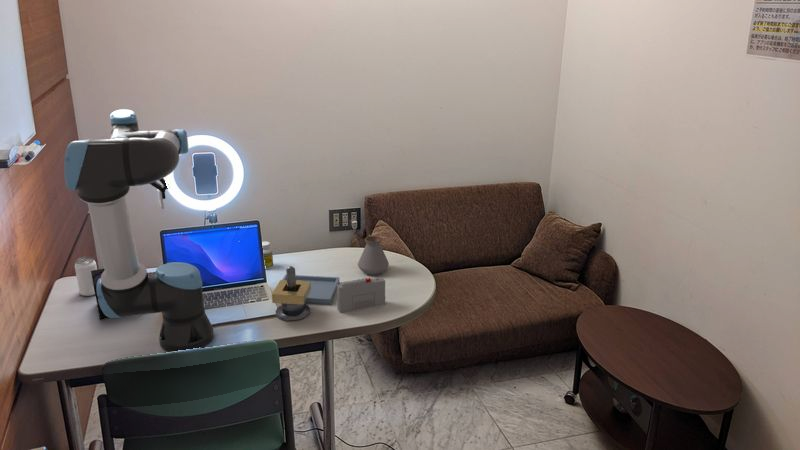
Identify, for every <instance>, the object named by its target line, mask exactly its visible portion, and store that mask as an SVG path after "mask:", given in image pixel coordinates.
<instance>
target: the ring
mask: <svg viewBox="0 0 800 450" xmlns="http://www.w3.org/2000/svg"><path fill="white" fill-rule="evenodd" d="M310 291H311V282H309V281H302V280H296V292H293V291H287V280H282V279H280V280H279V282H278V284H277V285H276V286H275V289H274V290H273V292H272V293H271V303H272V304H281V303H286V304H303V305H304V304H306V303H305V301H306V299H307V297H308V295H309V293H310Z"/></svg>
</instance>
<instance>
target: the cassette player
mask: <svg viewBox="0 0 800 450" xmlns="http://www.w3.org/2000/svg"><path fill="white" fill-rule="evenodd" d="M340 282H341V281H340ZM336 300H337V301H336V302H337V310H338V312H339V313H340V314H341V313H346V312H352V311H358V310H363V309H369V308H373V307H378V306H384V305H386V280H385V279H384V277H383V276H381V277H375V278H371V277H366V278H365V277H364V278H358V279H353V280H348V281H347V280H346V281H342V282H341V283H339V284H338V285H337V290H336Z"/></svg>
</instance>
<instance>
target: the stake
mask: <svg viewBox="0 0 800 450" xmlns="http://www.w3.org/2000/svg"><path fill="white" fill-rule="evenodd" d="M285 271H286V274H285V275H287V291H293V292H296V275H297V274H296V268H295V267H294V266H293V265H290V266H288V267H286V269H285ZM280 304H281V305H279V306H278V307H277V308H276V309H275V317H276V318H277V319H279V320H281V321H284V322H298V321H302V320H304V319H306V318H308V317H309V315H310V314H311V308H310V306H309V304H307V303H304V305H303V304H286V303H280Z"/></svg>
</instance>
